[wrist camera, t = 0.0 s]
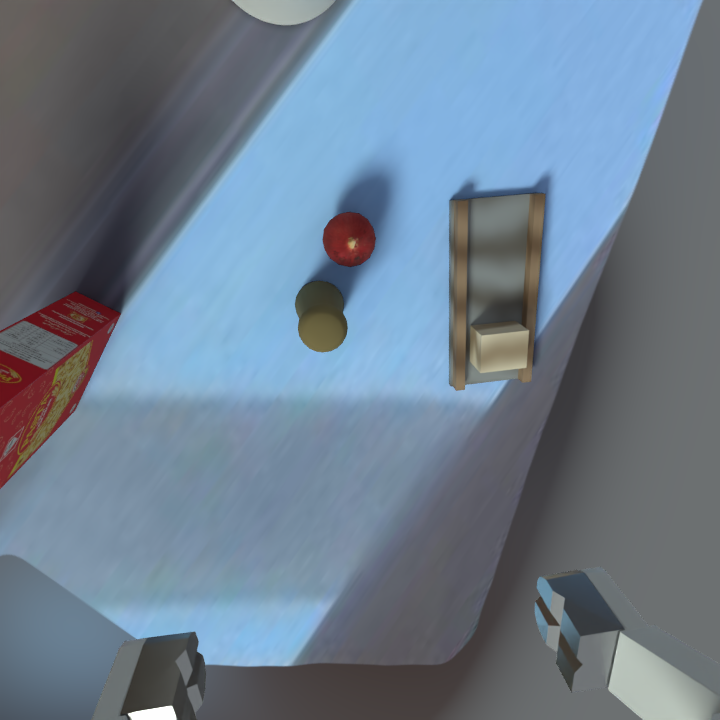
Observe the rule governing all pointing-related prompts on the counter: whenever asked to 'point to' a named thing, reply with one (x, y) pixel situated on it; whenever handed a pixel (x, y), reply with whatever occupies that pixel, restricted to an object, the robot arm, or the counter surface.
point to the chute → (492, 275)
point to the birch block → (498, 346)
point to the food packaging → (47, 372)
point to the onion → (349, 239)
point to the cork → (321, 316)
